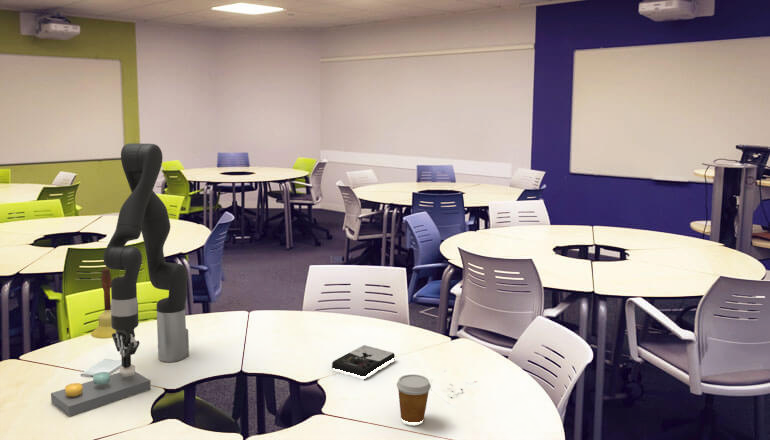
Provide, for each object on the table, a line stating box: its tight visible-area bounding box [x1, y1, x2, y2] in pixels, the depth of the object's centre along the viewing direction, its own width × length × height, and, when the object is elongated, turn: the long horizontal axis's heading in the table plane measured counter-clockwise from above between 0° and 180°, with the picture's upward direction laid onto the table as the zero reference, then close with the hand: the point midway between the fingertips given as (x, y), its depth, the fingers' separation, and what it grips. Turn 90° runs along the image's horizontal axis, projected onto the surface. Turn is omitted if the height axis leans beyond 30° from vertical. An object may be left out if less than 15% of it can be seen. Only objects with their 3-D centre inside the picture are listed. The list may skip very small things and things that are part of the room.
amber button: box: [64, 382, 83, 396], centre depth 179 cm, size 4×4×2 cm
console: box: [50, 371, 152, 417], centre depth 185 cm, size 24×12×3 cm, turn 139°
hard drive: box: [79, 358, 122, 379], centre depth 204 cm, size 2×8×12 cm
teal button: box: [92, 372, 111, 385], centre depth 185 cm, size 4×4×2 cm
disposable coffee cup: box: [396, 374, 432, 422], centre depth 175 cm, size 10×10×12 cm
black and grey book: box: [331, 344, 396, 376], centre depth 213 cm, size 13×19×5 cm
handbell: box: [90, 267, 116, 339], centre depth 235 cm, size 12×12×25 cm
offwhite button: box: [119, 363, 137, 377], centre depth 191 cm, size 4×4×2 cm
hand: (126, 366), depth 190 cm, fingers closed
